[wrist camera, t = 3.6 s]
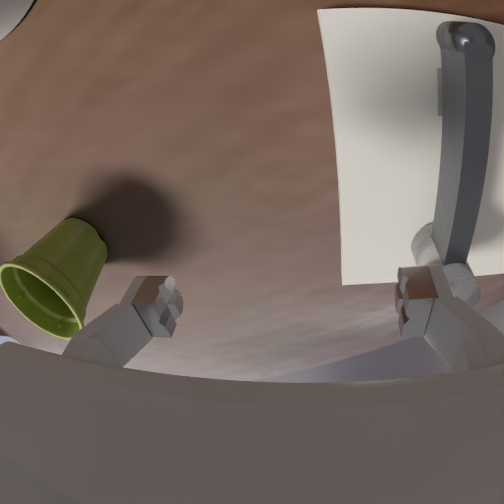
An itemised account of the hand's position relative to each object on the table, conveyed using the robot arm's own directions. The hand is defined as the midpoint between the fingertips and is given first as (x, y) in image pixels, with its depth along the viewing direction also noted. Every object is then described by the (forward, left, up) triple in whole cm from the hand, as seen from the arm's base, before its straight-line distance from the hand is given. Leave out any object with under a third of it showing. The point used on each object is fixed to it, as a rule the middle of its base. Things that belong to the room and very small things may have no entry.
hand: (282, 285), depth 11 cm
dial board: (+1, +12, -12) cm, 17 cm away
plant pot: (+6, -21, -12) cm, 25 cm away
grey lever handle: (0, +10, -10) cm, 14 cm away
